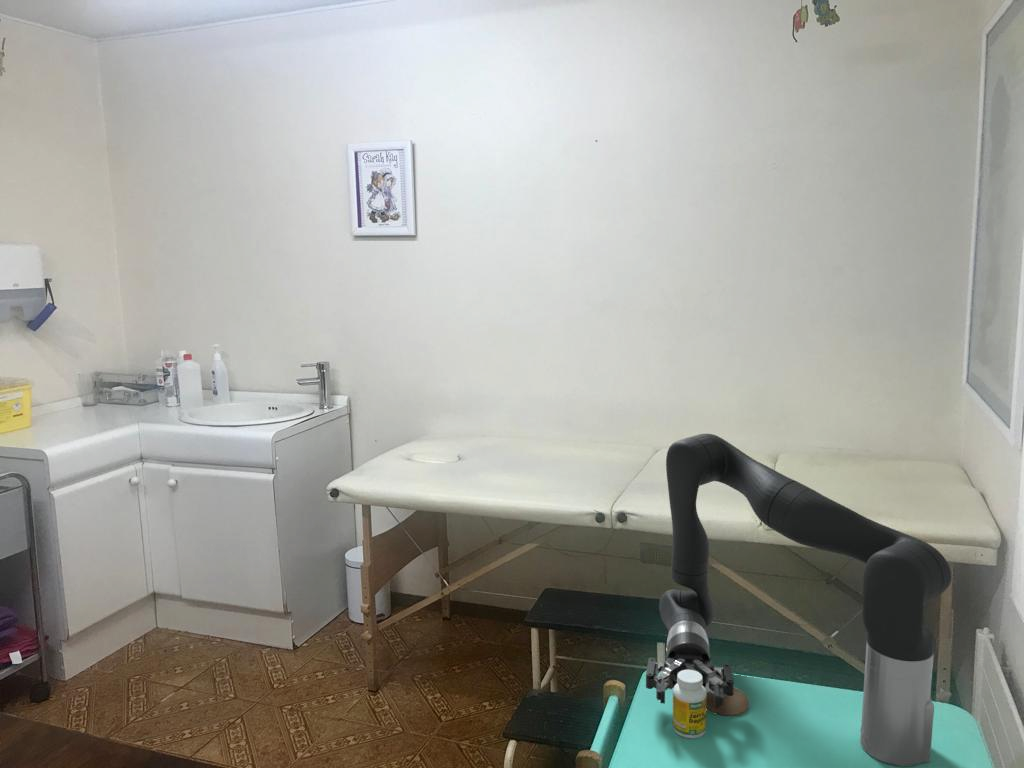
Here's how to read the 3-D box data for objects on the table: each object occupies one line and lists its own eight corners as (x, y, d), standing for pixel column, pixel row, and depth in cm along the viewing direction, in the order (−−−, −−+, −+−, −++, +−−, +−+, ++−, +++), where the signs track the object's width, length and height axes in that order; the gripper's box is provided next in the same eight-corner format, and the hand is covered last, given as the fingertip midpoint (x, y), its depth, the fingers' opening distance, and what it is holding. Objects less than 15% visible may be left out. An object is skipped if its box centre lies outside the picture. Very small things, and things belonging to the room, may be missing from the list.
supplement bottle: (688, 716, 136) (689, 663, 134) (713, 731, 132) (714, 677, 130) (665, 727, 133) (666, 673, 131) (689, 743, 129) (690, 688, 127)
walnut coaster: (746, 690, 143) (746, 686, 143) (751, 718, 135) (751, 714, 135) (697, 686, 145) (697, 682, 145) (699, 713, 137) (699, 710, 137)
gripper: (648, 627, 146) (645, 675, 131) (729, 633, 144) (736, 683, 128) (647, 666, 148) (644, 718, 132) (728, 672, 145) (735, 726, 129)
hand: (690, 700), depth 130 cm, fingers open, 8 cm apart
